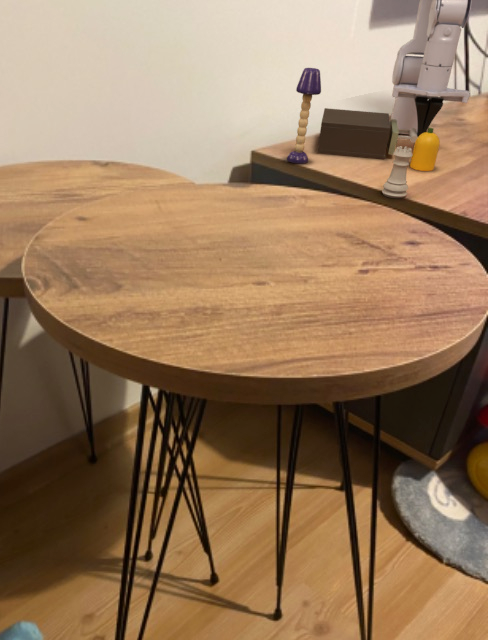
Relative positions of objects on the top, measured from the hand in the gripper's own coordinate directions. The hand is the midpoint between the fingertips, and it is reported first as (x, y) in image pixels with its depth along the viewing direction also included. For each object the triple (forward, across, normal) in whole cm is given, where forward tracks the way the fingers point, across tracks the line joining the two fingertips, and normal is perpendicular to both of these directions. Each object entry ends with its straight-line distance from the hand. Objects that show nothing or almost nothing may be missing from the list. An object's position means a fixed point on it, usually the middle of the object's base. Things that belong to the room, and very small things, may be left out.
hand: (420, 137), depth 135 cm
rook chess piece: (+4, -6, -28) cm, 29 cm away
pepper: (+3, 0, -10) cm, 10 cm away
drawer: (+2, -9, 0) cm, 9 cm away
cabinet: (+3, -14, 0) cm, 14 cm away
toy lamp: (+4, -24, -13) cm, 27 cm away
